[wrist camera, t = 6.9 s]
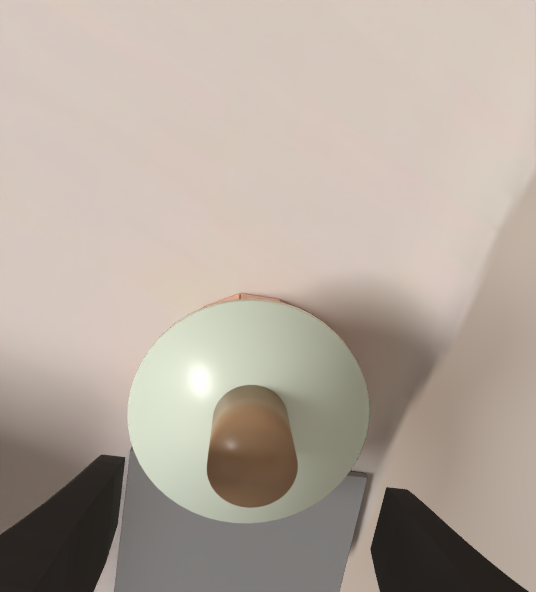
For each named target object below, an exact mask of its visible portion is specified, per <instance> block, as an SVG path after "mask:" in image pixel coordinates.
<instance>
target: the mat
mask: <svg viewBox="0 0 536 592" xmlns="http://www.w3.org/2000/svg"><path fill="white" fill-rule="evenodd" d="M366 482H367V476H366V473H359V472H351V471H350V472H349V473H348V474H347V476H346V477H345V478H344V479H343V481H342V482H341V483H340V484H339V485H338V486H337V487H336V488H335V489H334V490H333V491H332V492H331V493H329V494H328V495H327V496H325V497H324V498H323V499H322V500H320V501H319V502H317V503H315V504H314V505H312V506H310V507H309V508H307V509H305V510H303V511H300V512H298V513H296V514H294V515H291V516H288V517H285V518H282V519H278V520H273V521H268V522H261V523H231V522H224V521H218V520H214V519H210V518H207V517H204V516H201V515H199V514H196V513H193V512H191V511H189V510H187V509H186V508H184V507H182V506H180V505H178V504H177V503H175V502H174V501H173V500H171V499H170V498H168V497H167V496H166V495H165V494H164V493H163V492H162V491H160V490H159V489H158V488H157V487H156V486H155V485H154V483H153V482H152V481H151V480H150V479H149V477H148V476H147V475H146V473H145V472H144V470H143V468H142V467H141V465H140V464H139V461H138V459H137V457H136V455H135V453H134V450H133V447H132V448H131V450H130V458H129V466H128V475H127V484H126V493H125V501H124V510H123V519H122V527H121V536H120V545H119V553H118V562H117V571H116V579H115V588H114V592H339V591H340V587H341V583H342V579H343V575H344V571H345V567H346V562H347V559H348V555H349V551H350V547H351V543H352V539H353V534H354V530H355V526H356V522H357V518H358V514H359V510H360V506H361V502H362V498H363V494H364V490H365V486H366Z"/></svg>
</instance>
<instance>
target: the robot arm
mask: <svg viewBox="0 0 536 592" xmlns="http://www.w3.org/2000/svg"><path fill="white" fill-rule="evenodd" d="M124 464H125V457H118V456H109V455H101V456H99V457H98V458H96V459H95V460H94V461H93V462H92V463H91V464H90V465H89V466H88V467H86V468H85V469H84V470H83V471H82V472H81V473H80V474H79V475H77V476H76V477H75V478H74V479H73V480H72V481H70V482H69V483H68V484H67V485H66V486H65V487H63V488H62V489H61V490H60V491H58V492H57V493H56V494H55V495H54V496H52V497H51V498H50V499H49V500H47V501H46V502H45V503H44V504H42V505H41V506H40V507H38V508H37V509H36V510H34V511H33V512H32V513H30V514H29V515H27V516H26V517H25V518H23V519H22V520H21V521H19V522H18V523H17V524H15V525H14V526H12V527H11V528H9V529H8V530H6V531H5V532H3V533H2V534H0V592H94V589H95V587H96V585H97V582H98V580H99V577H100V575H101V573H102V570H103V568H104V566H105V563H106V560H107V557H108V554H109V551H110V548H111V544H112V541H113V538H114V534H115V531H116V528H117V524H118V517H119V508H120V499H121V490H122V481H123V472H124ZM371 554H372V559H373V564H374V568H375V573H376V577H377V581H378V585H379V589H380V592H528V591H527V590H526V589H524V588H523V587H521V586H520V585H519V584H517V583H516V582H515V581H513V580H512V579H511V578H510V577H508V576H507V575H506V574H504V573H503V572H502V571H501V570H499V569H498V568H497V567H496V566H495V565H493V564H492V563H491V562H490V561H488V560H487V559H486V558H485V557H484V556H482V555H481V554H480V553H479V552H478V551H477V550H475V549H474V548H473V547H472V546H471V545H469V544H468V543H467V542H466V541H465V540H464V539H463V538H462V537H460V536H459V535H458V534H457V533H456V532H455V531H454V530H452V529H451V528H450V527H449V526H448V525H447V524H446V523H445V522H444V521H443V520H441V519H440V518H439V517H438V516H437V515H436V514H435V513H434V512H433V511H432V510H431V509H429V508H428V507H427V506H426V505H425V504H424V503H423V502H422V501H420V500H419V499H418V498H417V497H416V496H415V495H413V494H412V493H411V492H410V491H408V490H405V489H397V488H388V487H387V488H386V491H385V495H384V499H383V503H382V506H381V510H380V514H379V518H378V522H377V526H376V530H375V534H374V538H373V541H372V545H371Z"/></svg>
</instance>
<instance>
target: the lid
mask: <svg viewBox="0 0 536 592" xmlns="http://www.w3.org/2000/svg"><path fill="white" fill-rule="evenodd" d="M127 422H128V430H129V437H130V440H131V444H132V447H133V450H134V453H135V455H136V457H137V459H138V461H139V464H140V465H141V467H142V468H143V470H144V472H145V473H146V475H147V476H148V477H149V479H150V480H151V481H152V482H153V483H154V485H155V486H156V487H157V488H158V489H159V490H160V491H162V492H163V493H164V494H165V495H166V496H167V497H168V498H170V499H171V500H173V501H174V502H175V503H177V504H178V505H180V506H182V507H184V508H186V509H187V510H189V511H191V512H193V513H196V514H199V515H201V516H204V517H207V518H210V519H214V520H218V521H224V522H231V523H261V522H268V521H273V520H278V519H282V518H285V517H288V516H291V515H294V514H296V513H298V512H300V511H303V510H305V509H307V508H309V507H310V506H312V505H314V504H315V503H317V502H319V501H320V500H322V499H323V498H324V497H325V496H327V495H328V494H329V493H331V492H332V491H333V490H334V489H335V488H336V487H337V486H338V485H339V484H340V483H341V482H342V481H343V479H344V478H345V477H346V476H347V474H348V473H349V472H350V471H351V469H352V467H353V466H354V464H355V462H356V461H357V459H358V457H359V455H360V452H361V450H362V448H363V445H364V442H365V439H366V435H367V431H368V424H369V397H368V390H367V386H366V383H365V379H364V376H363V373H362V371H361V369H360V367H359V365H358V363H357V361H356V359H355V358H354V356H353V355H352V353H351V351H350V350H349V348H348V347H347V345H346V344H345V343H344V342H343V341H342V339H341V338H340V337H339V336H338V335H337V334H336V332H334V331H333V330H332V329H331V328H330V327H329V326H328V325H326V324H325V323H324V322H323V321H321V320H320V319H318V318H317V317H315V316H314V315H312V314H310V313H308V312H306V311H304V310H302V309H300V308H298V307H295V306H292V305H289V304H286V303H283V302H278V301H272V300H267V299H252V298H249V299H234V300H229V301H224V302H219V303H215V304H212V305H209V306H206V307H203V308H201V309H199V310H197V311H195V312H193V313H191V314H189V315H187V316H186V317H184V318H182V319H181V320H179V321H178V322H176V323H175V324H174V325H173V326H171V327H170V328H169V329H168V330H167V331H166V332H164V333H163V334H162V335H161V337H160V338H159V339H158V340H157V341H156V342H155V343H154V345H153V346H152V347H151V349H150V350H149V352H148V353H147V355H146V356H145V358H144V360H143V361H142V363H141V365H140V367H139V369H138V371H137V373H136V376H135V378H134V381H133V384H132V387H131V390H130V395H129V401H128V414H127Z"/></svg>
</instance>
